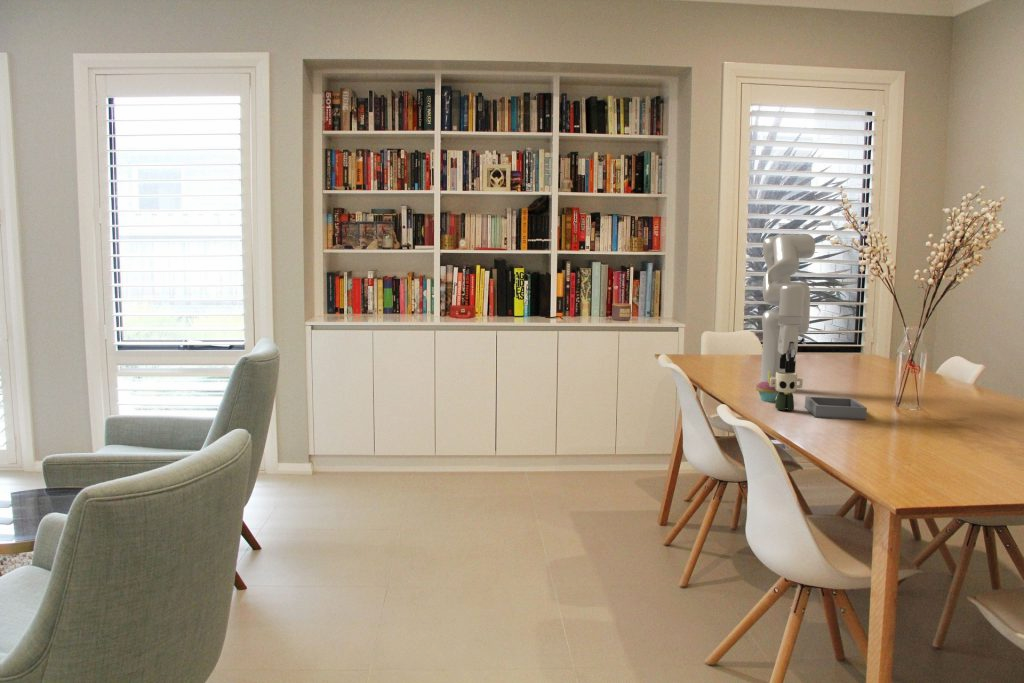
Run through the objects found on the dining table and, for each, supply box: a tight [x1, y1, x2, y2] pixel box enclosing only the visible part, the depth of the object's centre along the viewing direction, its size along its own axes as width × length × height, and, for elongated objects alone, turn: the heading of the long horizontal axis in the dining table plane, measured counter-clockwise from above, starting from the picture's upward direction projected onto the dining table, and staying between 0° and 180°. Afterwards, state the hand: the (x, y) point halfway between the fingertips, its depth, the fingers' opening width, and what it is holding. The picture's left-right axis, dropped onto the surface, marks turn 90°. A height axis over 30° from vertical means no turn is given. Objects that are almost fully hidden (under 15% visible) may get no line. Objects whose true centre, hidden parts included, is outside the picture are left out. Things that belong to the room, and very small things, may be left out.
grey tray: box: [804, 395, 868, 421], centre depth 266 cm, size 16×16×4 cm
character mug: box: [770, 372, 804, 411], centre depth 269 cm, size 11×7×13 cm, turn 81°
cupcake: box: [755, 371, 779, 403], centre depth 286 cm, size 9×8×12 cm
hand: (787, 370), depth 268 cm, fingers open, 9 cm apart
